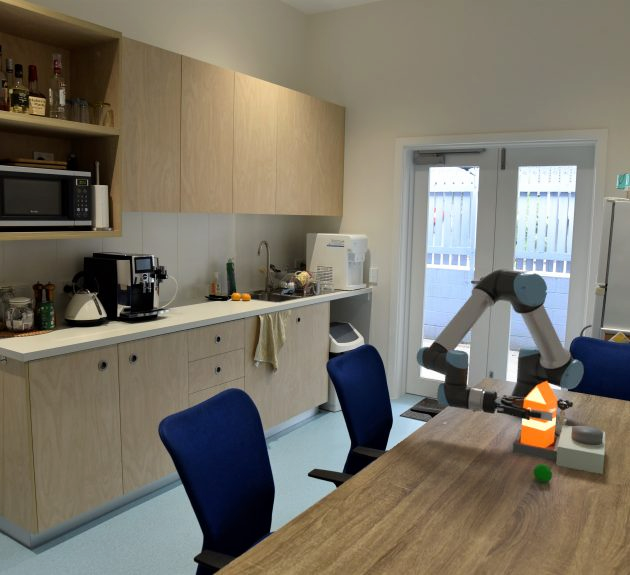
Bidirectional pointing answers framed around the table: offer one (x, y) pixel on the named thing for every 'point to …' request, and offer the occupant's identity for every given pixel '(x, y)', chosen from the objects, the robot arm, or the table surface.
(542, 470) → the polyhedron
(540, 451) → the grey boxy fixture
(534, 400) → the orange juice
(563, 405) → the valve
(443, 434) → the table surface
